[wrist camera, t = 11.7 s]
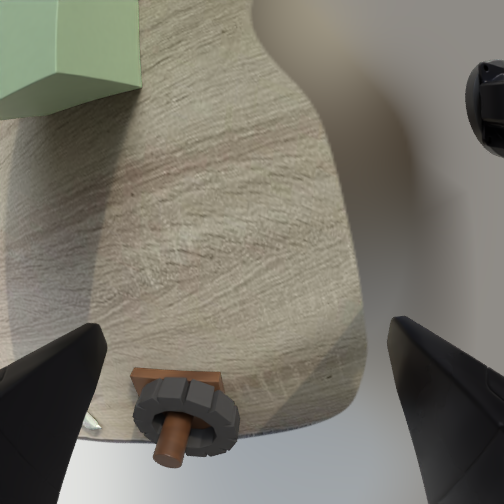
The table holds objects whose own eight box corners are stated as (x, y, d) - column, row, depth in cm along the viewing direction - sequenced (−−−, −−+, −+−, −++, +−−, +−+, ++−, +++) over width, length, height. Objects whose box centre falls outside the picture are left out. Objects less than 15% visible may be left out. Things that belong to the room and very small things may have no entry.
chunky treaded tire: (229, 377, 24) (226, 399, 22) (245, 439, 27) (243, 458, 25) (127, 374, 25) (117, 393, 23) (158, 434, 28) (153, 452, 26)
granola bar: (104, 426, 31) (101, 432, 30) (92, 426, 31) (89, 432, 30) (68, 387, 28) (64, 393, 27) (57, 389, 29) (53, 395, 28)
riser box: (138, -5, 14) (66, -58, 6) (142, 87, 17) (56, 73, 9) (45, 32, 15) (-42, 15, 7) (47, 115, 18) (-47, 128, 9)
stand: (220, 371, 25) (206, 440, 19) (231, 426, 28) (223, 486, 22) (134, 367, 26) (105, 426, 19) (157, 420, 29) (138, 475, 22)
